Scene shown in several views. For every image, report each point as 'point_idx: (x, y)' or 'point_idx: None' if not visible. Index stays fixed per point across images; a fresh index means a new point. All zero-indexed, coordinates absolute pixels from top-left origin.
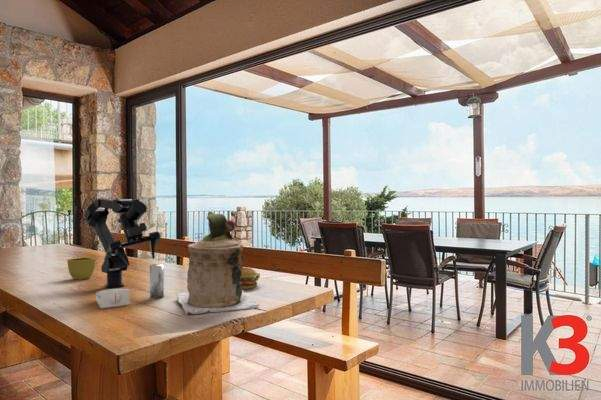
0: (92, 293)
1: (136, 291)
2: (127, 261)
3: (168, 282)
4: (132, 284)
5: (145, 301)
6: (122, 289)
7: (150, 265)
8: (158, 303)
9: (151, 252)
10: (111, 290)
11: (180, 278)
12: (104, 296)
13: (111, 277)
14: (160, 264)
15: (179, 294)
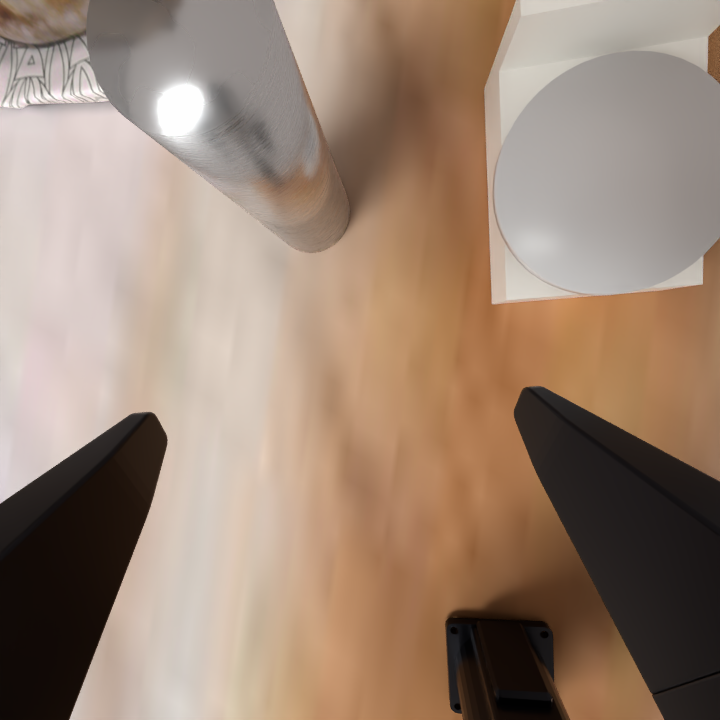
0: None
1: (396, 440)
2: (578, 415)
3: (196, 591)
4: (390, 651)
5: (386, 135)
6: (529, 233)
7: (266, 3)
8: (326, 46)
9: (83, 558)
10: (612, 234)
11: (122, 662)
12: None
13: (553, 696)
14: (125, 51)
15: None
